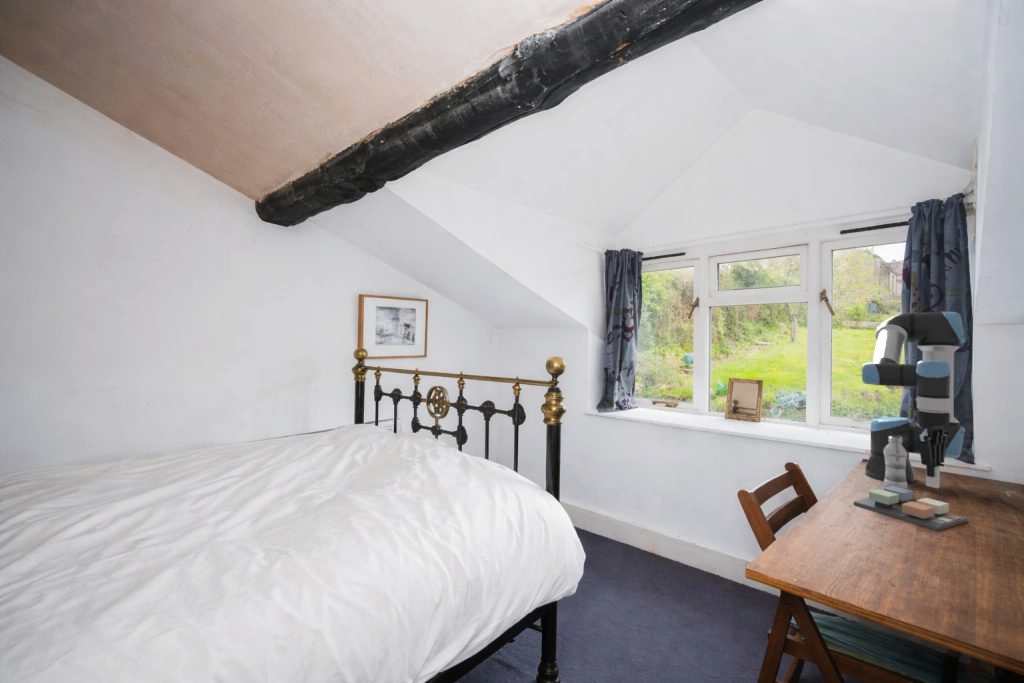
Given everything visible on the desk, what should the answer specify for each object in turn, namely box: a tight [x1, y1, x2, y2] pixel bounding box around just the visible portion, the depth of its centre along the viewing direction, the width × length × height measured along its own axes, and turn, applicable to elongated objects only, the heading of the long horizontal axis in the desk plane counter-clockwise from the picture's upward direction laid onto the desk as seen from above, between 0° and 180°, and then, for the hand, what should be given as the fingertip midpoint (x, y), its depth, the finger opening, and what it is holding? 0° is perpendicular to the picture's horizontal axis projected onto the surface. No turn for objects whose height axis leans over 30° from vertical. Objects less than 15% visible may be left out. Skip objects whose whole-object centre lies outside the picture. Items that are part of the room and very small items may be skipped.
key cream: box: [916, 497, 950, 514], centre depth 139 cm, size 6×6×2 cm
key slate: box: [883, 486, 914, 501], centre depth 148 cm, size 6×6×2 cm
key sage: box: [868, 488, 899, 505], centre depth 145 cm, size 6×6×2 cm
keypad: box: [853, 497, 968, 531], centre depth 142 cm, size 16×22×3 cm
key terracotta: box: [902, 501, 934, 519], centre depth 136 cm, size 6×6×2 cm
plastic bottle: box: [882, 436, 909, 490], centre depth 159 cm, size 6×7×20 cm
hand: (932, 486), depth 140 cm, fingers closed
